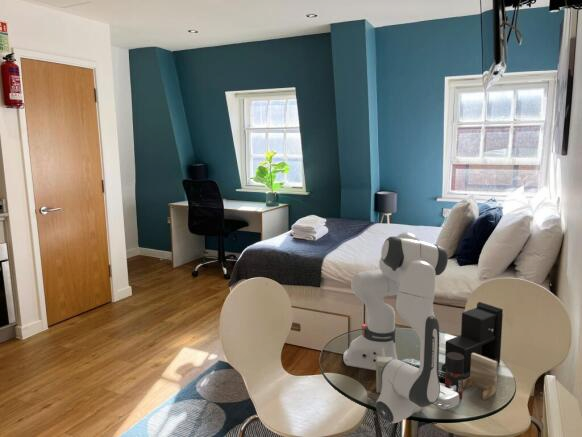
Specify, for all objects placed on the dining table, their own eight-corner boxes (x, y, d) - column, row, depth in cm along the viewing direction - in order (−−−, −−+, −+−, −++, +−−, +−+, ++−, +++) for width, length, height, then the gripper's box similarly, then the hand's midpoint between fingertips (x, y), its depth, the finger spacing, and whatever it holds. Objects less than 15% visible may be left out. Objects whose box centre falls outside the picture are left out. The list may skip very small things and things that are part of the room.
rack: (484, 400, 154) (486, 368, 152) (460, 389, 161) (462, 358, 159) (495, 393, 158) (497, 361, 156) (471, 382, 165) (473, 352, 163)
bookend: (464, 381, 167) (467, 322, 163) (440, 369, 176) (442, 313, 172) (500, 364, 179) (504, 308, 175) (476, 354, 188) (479, 301, 184)
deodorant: (449, 389, 161) (451, 350, 159) (465, 395, 157) (467, 356, 154) (441, 395, 157) (443, 356, 155) (457, 402, 153) (459, 361, 150)
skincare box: (393, 387, 163) (393, 356, 161) (393, 394, 159) (394, 362, 157) (375, 386, 164) (375, 355, 162) (375, 392, 160) (376, 361, 158)
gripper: (444, 400, 135) (470, 385, 143) (392, 373, 151) (418, 361, 159) (444, 419, 136) (469, 403, 144) (392, 390, 152) (417, 377, 160)
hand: (442, 381), depth 152 cm, fingers open, 8 cm apart
